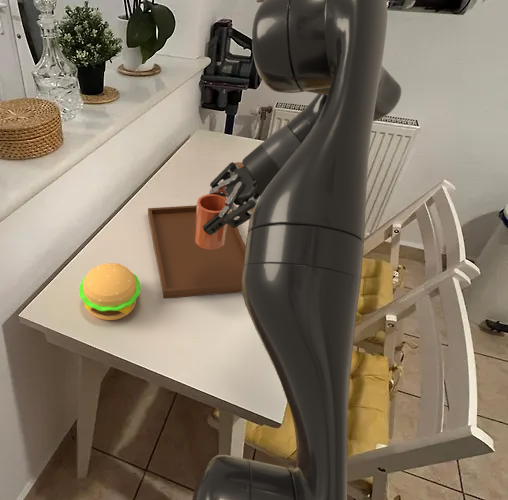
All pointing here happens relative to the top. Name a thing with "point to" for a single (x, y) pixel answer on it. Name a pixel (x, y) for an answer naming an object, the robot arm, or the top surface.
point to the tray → (193, 255)
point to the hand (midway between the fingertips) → (202, 220)
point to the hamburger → (109, 291)
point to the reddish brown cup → (205, 212)
